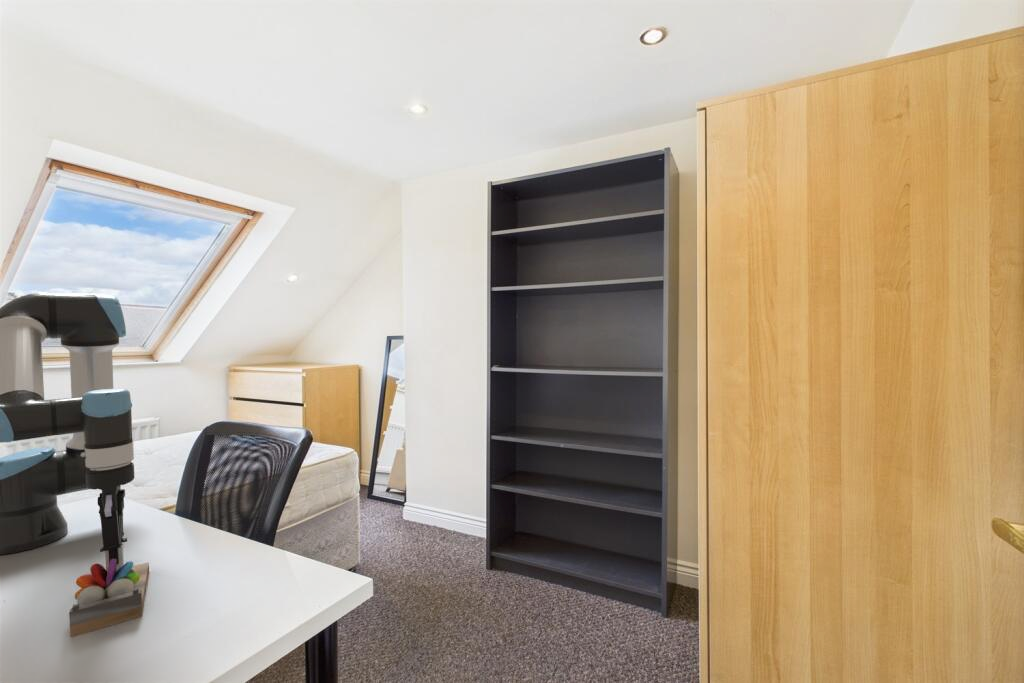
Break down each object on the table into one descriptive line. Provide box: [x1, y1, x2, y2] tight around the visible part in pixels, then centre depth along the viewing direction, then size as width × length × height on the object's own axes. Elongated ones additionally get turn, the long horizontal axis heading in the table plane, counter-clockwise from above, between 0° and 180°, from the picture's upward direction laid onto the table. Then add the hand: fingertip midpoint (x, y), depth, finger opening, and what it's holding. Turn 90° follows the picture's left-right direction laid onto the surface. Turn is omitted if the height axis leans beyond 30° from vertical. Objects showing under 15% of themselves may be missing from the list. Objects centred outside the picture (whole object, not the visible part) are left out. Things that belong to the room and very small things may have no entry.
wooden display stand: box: [68, 562, 150, 638], centre depth 93 cm, size 20×10×5 cm, turn 35°
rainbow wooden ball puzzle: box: [74, 559, 140, 606], centre depth 91 cm, size 8×10×7 cm
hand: (115, 577), depth 95 cm, fingers closed
